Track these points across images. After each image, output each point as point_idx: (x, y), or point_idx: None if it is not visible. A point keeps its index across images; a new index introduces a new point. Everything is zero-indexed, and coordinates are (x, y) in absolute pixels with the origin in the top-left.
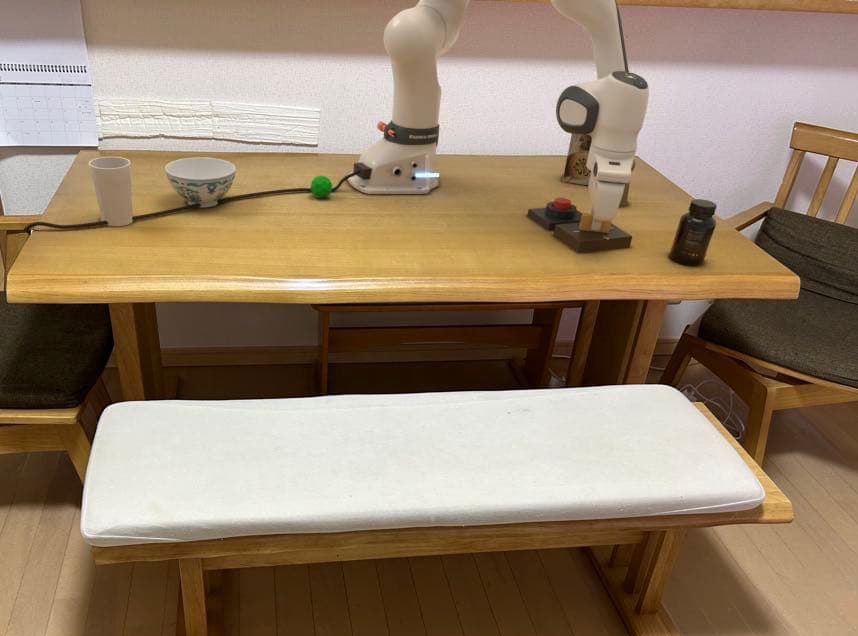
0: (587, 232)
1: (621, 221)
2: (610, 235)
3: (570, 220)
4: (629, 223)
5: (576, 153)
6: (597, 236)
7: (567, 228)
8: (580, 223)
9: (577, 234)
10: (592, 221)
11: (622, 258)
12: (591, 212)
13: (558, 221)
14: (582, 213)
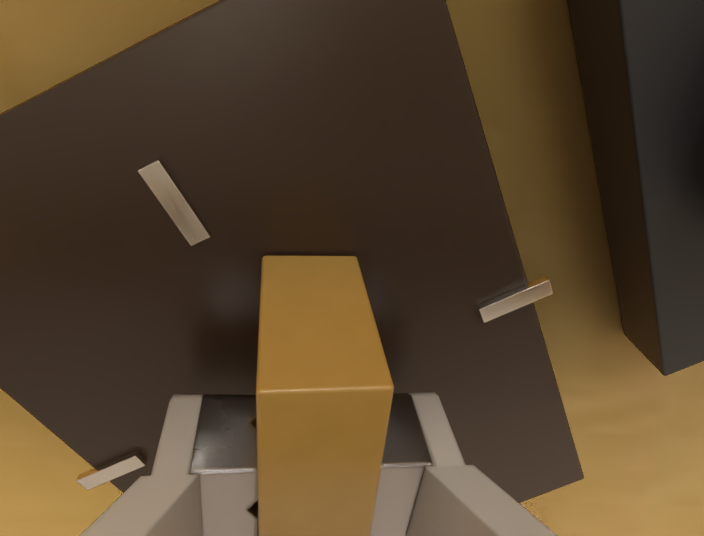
0: (218, 326)
1: (686, 497)
2: None
3: (668, 186)
4: (650, 526)
5: None
6: (128, 406)
7: (282, 94)
8: (326, 289)
9: (88, 208)
10: (183, 463)
11: (16, 481)
12: (458, 486)
13: (658, 24)
14: (371, 386)
